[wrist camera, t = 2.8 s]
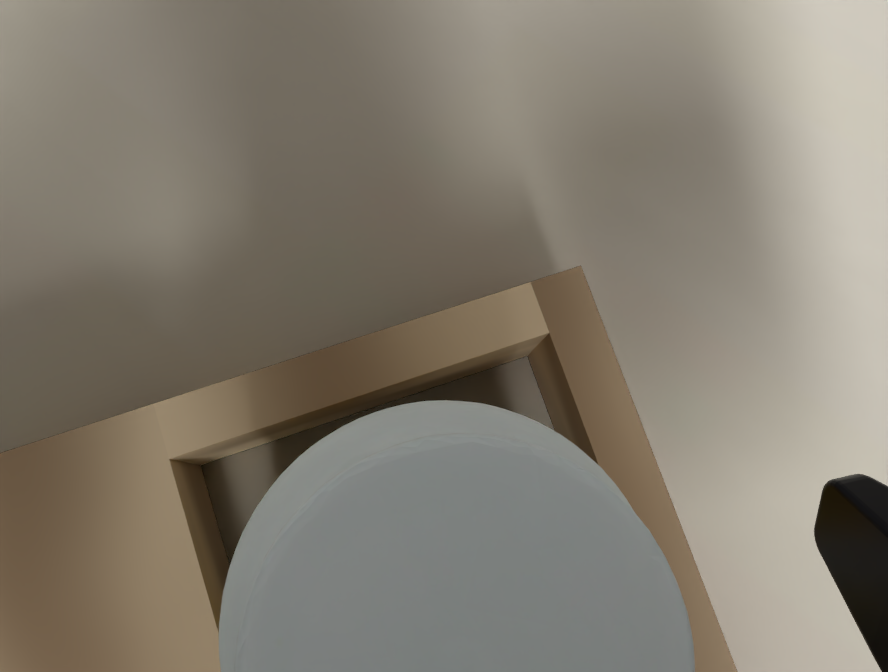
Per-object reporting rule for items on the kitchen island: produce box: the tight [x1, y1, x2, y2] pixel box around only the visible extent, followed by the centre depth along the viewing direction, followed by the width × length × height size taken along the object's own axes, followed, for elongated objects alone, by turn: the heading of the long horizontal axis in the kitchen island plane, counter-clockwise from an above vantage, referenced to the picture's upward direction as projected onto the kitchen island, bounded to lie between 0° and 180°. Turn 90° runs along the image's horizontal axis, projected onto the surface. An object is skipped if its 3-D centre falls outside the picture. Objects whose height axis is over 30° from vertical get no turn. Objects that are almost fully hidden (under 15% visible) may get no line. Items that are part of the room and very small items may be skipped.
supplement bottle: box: [219, 400, 695, 672], centre depth 12 cm, size 5×5×10 cm
